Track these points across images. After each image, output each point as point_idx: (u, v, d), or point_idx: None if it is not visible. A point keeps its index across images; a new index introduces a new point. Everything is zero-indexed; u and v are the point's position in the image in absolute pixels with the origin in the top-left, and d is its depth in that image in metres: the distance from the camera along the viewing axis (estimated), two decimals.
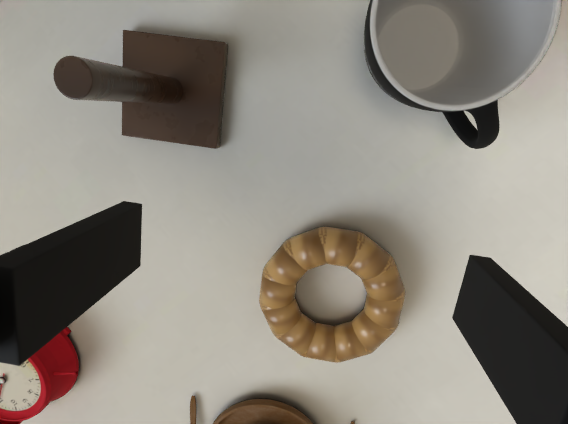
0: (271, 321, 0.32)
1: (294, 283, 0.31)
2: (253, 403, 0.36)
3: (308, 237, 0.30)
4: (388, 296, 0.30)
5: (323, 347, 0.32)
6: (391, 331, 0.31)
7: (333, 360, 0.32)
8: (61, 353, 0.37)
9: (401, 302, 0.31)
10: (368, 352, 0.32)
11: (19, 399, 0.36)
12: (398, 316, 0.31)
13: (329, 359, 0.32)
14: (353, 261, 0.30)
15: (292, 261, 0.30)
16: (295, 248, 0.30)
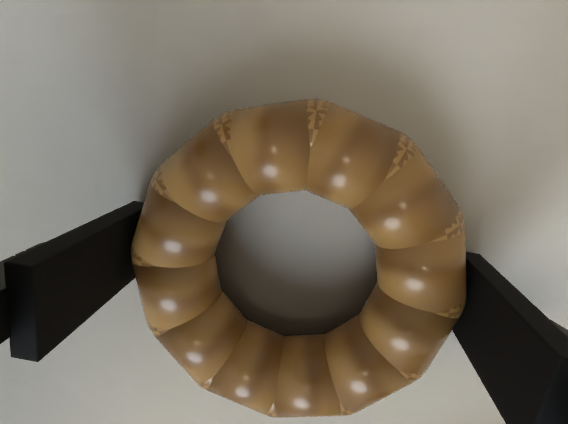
0: (236, 400, 0.14)
1: (207, 304, 0.14)
2: None
3: (144, 206, 0.13)
4: (374, 174, 0.11)
5: (362, 374, 0.13)
6: (456, 235, 0.12)
7: (405, 382, 0.13)
8: None
9: (416, 161, 0.12)
10: (454, 314, 0.13)
11: None
12: (440, 193, 0.12)
13: (396, 386, 0.13)
14: (244, 172, 0.12)
15: (150, 271, 0.13)
16: (137, 244, 0.13)
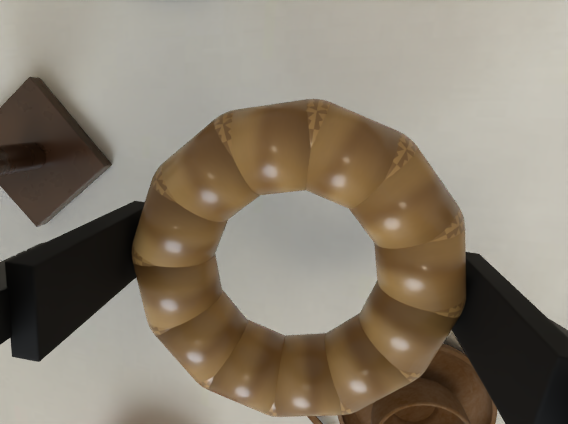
0: (236, 399, 0.14)
1: (207, 303, 0.14)
2: None
3: (144, 206, 0.13)
4: (374, 174, 0.11)
5: (362, 373, 0.13)
6: (456, 235, 0.12)
7: (405, 381, 0.13)
8: None
9: (416, 161, 0.12)
10: (454, 313, 0.13)
11: None
12: (440, 193, 0.12)
13: (396, 385, 0.13)
14: (244, 172, 0.12)
15: (151, 271, 0.13)
16: (138, 244, 0.13)
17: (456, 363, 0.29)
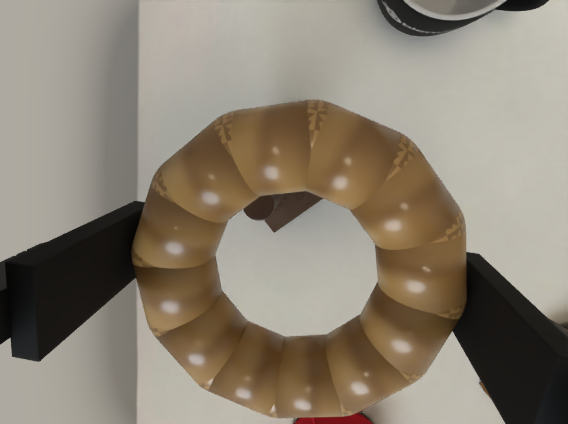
0: (236, 401, 0.14)
1: (207, 304, 0.14)
2: None
3: (144, 207, 0.13)
4: (375, 175, 0.11)
5: (362, 375, 0.13)
6: (456, 236, 0.12)
7: (406, 382, 0.13)
8: None
9: (417, 162, 0.12)
10: (455, 314, 0.13)
11: None
12: (441, 194, 0.12)
13: (396, 387, 0.13)
14: (245, 173, 0.12)
15: (151, 272, 0.13)
16: (138, 245, 0.13)
17: None
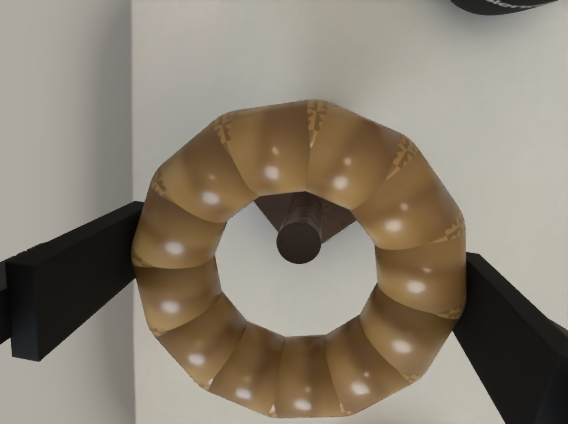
0: (236, 401, 0.14)
1: (207, 304, 0.14)
2: None
3: (144, 207, 0.13)
4: (374, 175, 0.11)
5: (362, 375, 0.13)
6: (456, 236, 0.12)
7: (405, 383, 0.13)
8: None
9: (416, 163, 0.12)
10: (454, 315, 0.13)
11: None
12: (440, 194, 0.12)
13: (396, 387, 0.13)
14: (244, 173, 0.12)
15: (150, 272, 0.13)
16: (138, 245, 0.13)
17: None
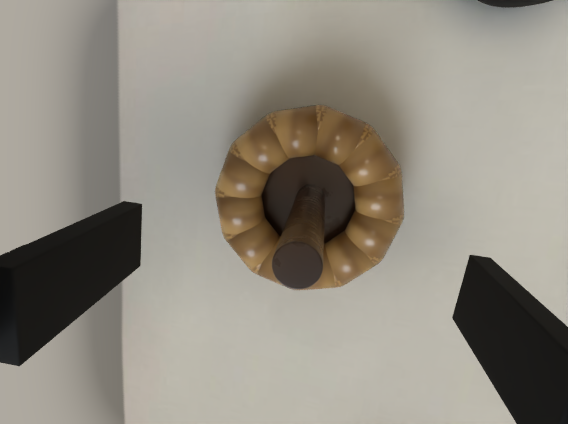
0: (274, 278, 0.25)
1: (258, 221, 0.25)
2: None
3: (225, 164, 0.24)
4: (351, 144, 0.22)
5: (346, 258, 0.24)
6: (395, 177, 0.23)
7: (370, 262, 0.24)
8: None
9: (373, 138, 0.22)
10: (395, 221, 0.23)
11: None
12: (386, 155, 0.22)
13: (365, 265, 0.24)
14: (283, 144, 0.23)
15: (229, 200, 0.24)
16: (221, 185, 0.24)
17: None
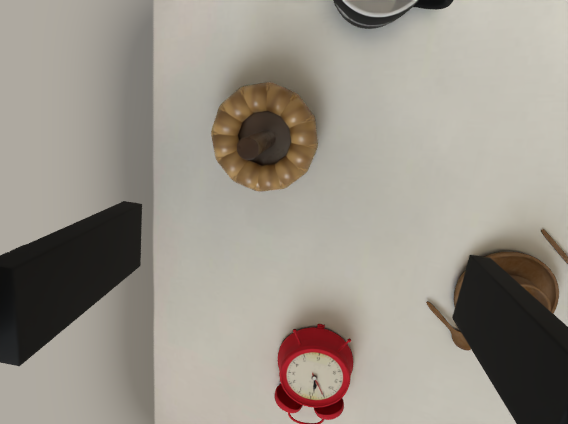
0: (245, 182, 0.44)
1: (236, 149, 0.43)
2: None
3: (216, 116, 0.42)
4: (284, 103, 0.41)
5: (285, 168, 0.43)
6: (309, 121, 0.41)
7: (299, 171, 0.43)
8: (331, 339, 0.50)
9: (297, 99, 0.41)
10: (311, 146, 0.42)
11: (332, 383, 0.50)
12: (305, 109, 0.41)
13: (296, 172, 0.43)
14: (248, 103, 0.41)
15: (219, 136, 0.42)
16: (215, 128, 0.42)
17: (531, 268, 0.46)
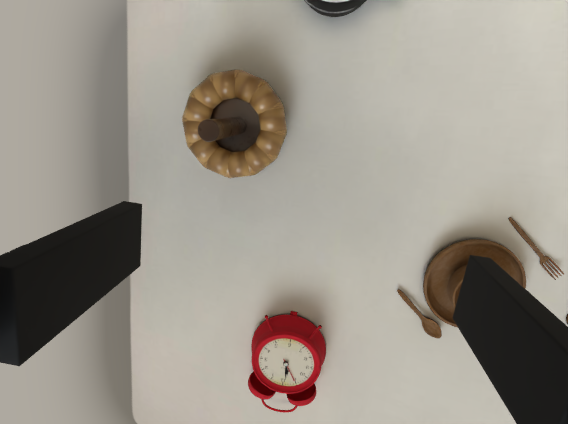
0: (215, 168, 0.44)
1: None
2: (435, 258, 0.47)
3: (187, 103, 0.43)
4: (252, 89, 0.41)
5: (254, 154, 0.43)
6: (277, 108, 0.42)
7: (267, 157, 0.43)
8: (303, 325, 0.51)
9: (265, 86, 0.42)
10: (279, 133, 0.43)
11: (303, 369, 0.50)
12: (272, 96, 0.42)
13: (264, 158, 0.43)
14: (217, 90, 0.42)
15: (189, 122, 0.43)
16: (185, 114, 0.43)
17: (499, 256, 0.47)
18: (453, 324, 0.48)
